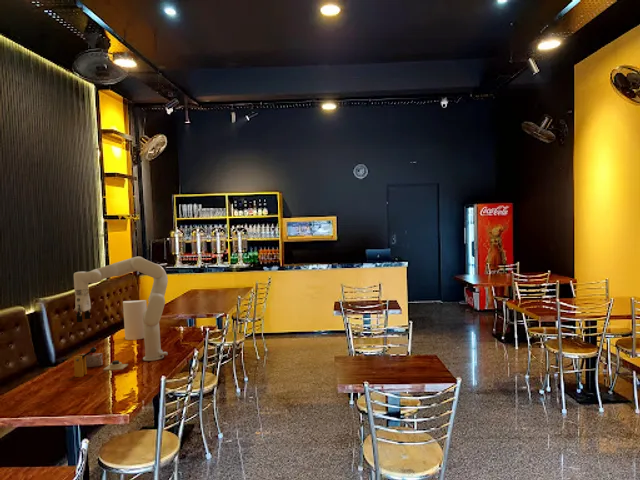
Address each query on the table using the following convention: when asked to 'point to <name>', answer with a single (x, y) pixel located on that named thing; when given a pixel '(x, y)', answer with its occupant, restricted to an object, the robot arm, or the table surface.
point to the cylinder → (134, 319)
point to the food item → (94, 360)
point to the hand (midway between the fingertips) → (83, 320)
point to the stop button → (115, 362)
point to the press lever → (89, 352)
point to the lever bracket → (80, 366)
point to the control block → (115, 366)
